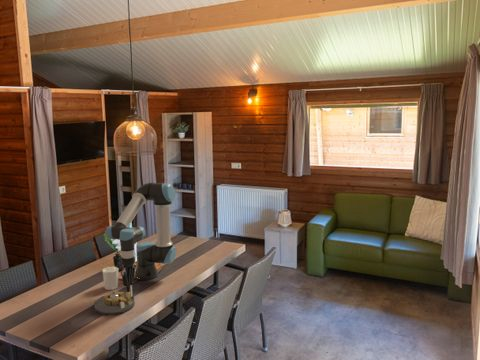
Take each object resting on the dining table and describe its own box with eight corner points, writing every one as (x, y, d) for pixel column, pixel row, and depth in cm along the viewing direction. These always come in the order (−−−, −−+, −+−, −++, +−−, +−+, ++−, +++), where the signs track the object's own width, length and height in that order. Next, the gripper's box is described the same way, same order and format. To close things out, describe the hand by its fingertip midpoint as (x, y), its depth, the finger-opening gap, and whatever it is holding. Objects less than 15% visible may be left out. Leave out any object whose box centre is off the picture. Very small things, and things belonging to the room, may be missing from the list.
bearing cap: (112, 295, 250) (111, 284, 249) (142, 301, 242) (141, 290, 241) (86, 311, 230) (85, 299, 229) (117, 318, 222) (117, 306, 221)
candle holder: (102, 291, 255) (101, 273, 253) (103, 285, 265) (102, 267, 263) (119, 289, 258) (118, 271, 256) (119, 283, 267) (118, 265, 265)
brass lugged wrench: (100, 303, 233) (99, 291, 231) (113, 295, 243) (112, 283, 241) (124, 308, 226) (123, 296, 225) (136, 300, 236) (135, 288, 235)
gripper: (127, 252, 236) (129, 290, 240) (115, 259, 223) (117, 300, 227) (139, 253, 234) (141, 291, 238) (128, 261, 221) (129, 301, 226)
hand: (129, 295), depth 233 cm, fingers closed
